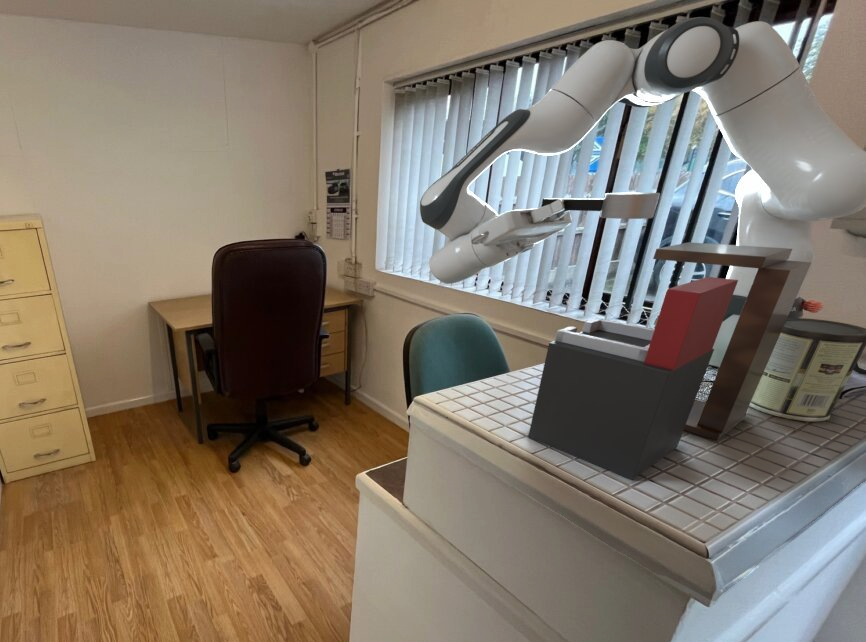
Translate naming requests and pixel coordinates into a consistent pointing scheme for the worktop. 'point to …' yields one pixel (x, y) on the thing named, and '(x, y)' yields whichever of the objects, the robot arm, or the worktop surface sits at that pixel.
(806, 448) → the worktop surface
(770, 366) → the coffee can
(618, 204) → the filter holder
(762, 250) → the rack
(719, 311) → the coffee maker
